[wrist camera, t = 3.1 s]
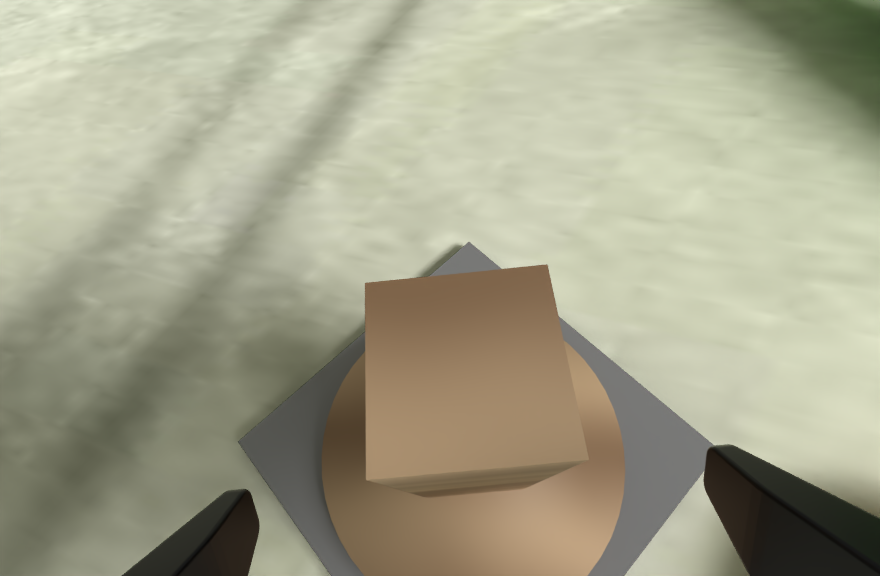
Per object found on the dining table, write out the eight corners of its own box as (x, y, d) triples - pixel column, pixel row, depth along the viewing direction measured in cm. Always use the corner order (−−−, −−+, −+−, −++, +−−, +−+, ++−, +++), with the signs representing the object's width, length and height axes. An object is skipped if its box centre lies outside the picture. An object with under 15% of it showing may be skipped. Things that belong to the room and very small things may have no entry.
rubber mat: (471, 765, 14) (471, 776, 13) (244, 443, 18) (237, 441, 18) (711, 451, 17) (719, 449, 17) (469, 248, 22) (468, 241, 21)
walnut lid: (656, 606, 15) (1009, 791, 5) (322, 634, 15) (45, 860, 5) (582, 301, 20) (687, 97, 10) (331, 326, 20) (197, 151, 10)
